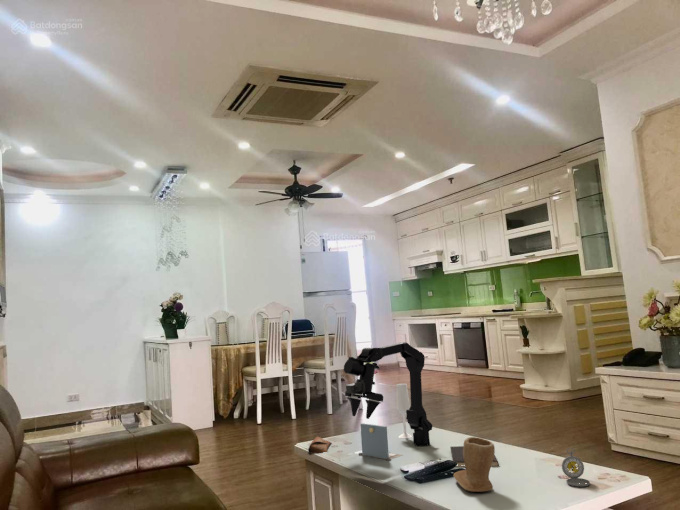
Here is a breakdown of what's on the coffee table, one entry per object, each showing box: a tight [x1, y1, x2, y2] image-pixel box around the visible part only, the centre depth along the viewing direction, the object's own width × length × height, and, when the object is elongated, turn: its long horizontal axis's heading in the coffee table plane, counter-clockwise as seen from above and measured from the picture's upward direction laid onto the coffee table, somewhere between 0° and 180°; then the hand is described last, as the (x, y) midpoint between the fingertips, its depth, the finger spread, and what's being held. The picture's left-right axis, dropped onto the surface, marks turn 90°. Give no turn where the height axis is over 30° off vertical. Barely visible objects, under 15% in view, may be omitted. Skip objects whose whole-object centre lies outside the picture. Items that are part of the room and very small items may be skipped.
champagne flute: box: [395, 383, 413, 439], centre depth 241 cm, size 7×7×24 cm
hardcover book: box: [450, 445, 500, 467], centre depth 197 cm, size 16×23×2 cm
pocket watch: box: [561, 447, 591, 488], centre depth 161 cm, size 8×8×10 cm
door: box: [360, 422, 390, 460], centre depth 203 cm, size 2×13×12 cm, turn 44°
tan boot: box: [453, 436, 496, 493], centre depth 164 cm, size 15×12×15 cm
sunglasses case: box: [307, 436, 332, 454], centre depth 228 cm, size 18×7×7 cm, turn 175°
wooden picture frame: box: [358, 452, 403, 462], centre depth 205 cm, size 10×16×2 cm, turn 44°
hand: (360, 417), depth 207 cm, fingers open, 9 cm apart
